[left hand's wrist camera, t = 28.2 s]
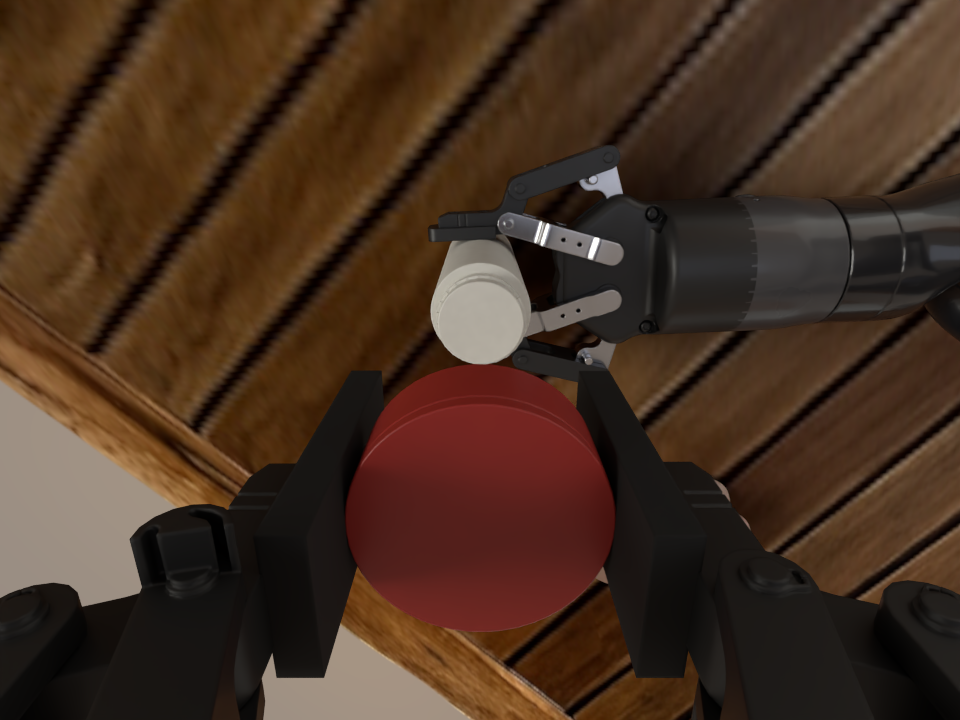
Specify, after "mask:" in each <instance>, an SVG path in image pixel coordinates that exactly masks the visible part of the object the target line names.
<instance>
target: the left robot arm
mask: <svg viewBox="0 0 960 720" xmlns="http://www.w3.org/2000/svg"><path fill="white" fill-rule="evenodd" d="M576 409H577V411H578V412H579V413H580V415H581V416H582V418H583V419H584V421H585V423H586V425H587V427H588V429H589V431H590V434H591V436H592V439H593V441H594V444H595V446H596V449H597V452H598V454H599V457H600V459H601V462H602V464H603V467H604V469H605V472H606V474H607V477H608V479H609V482H610V485H611V488H612V491H613V495H614V500H615V506H616V520H615V530H614V539H613V543H612V546H611V550H610V553H609V555H608V557H607V559H606V561H605V564H604V566H603V568H604V571H605V574H606V578H607V581H608V584H609V588H610V591H611V595H612V598H613V601H614V605H615V608H616V611H617V615H618V618H619V621H620V625H621V628H622V631H623V635H624V638H625V641H626V645H627V648H628V651H629V655H630V658H631V662H632V665H633V668H634V672H635V675H636V678H684V673H685V667H686V661H687V655H688V651H689V653H690V656H691V658H692V660H693V663H694V665H695V667H696V670H697V672H698V675H699V678H698V684H697V689H696V695H695V700H694V706H693V711H692V717H691V720H960V595H959V594H957V593H955V592H953V591H951V590H948V589H946V588H943V587H939V586H936V585H932V584H929V583H924V582H916V581H909V580H907V581H900V582H894V583H891V584H890V585H889V586H888V587H887V588H885V589H884V591H883V594H882V597H881V601H880V604H879V605H878V604H874V603H869V602H865V601H860V600H856V599H851V598H847V597H842V596H838V595H834V594H830V593H827V592H823V591H820V590H819V588H818V586H817V585H816V583H815V582H814V580H813V579H812V577H811V576H810V575H809V574H808V573H807V572H806V571H805V570H803V569H802V568H801V567H799V566H798V565H797V564H796V563H794V562H792V561H790V560H788V559H786V558H784V557H782V556H780V555H778V554H775V553H771V552H767V551H765V550H764V548H763V547H762V546H761V544H760V543H759V541H758V540H757V539H756V537H755V536H754V535H753V533H752V532H751V530H750V529H749V528H748V526H747V525H746V523H745V522H744V521H743V519H742V518H741V516H740V515H739V514H738V512H737V511H736V510H735V508H732V504H731V503H730V501H729V500H728V498H727V497H726V496H725V494H722V490H721V489H720V487H719V486H718V485H717V483H716V482H715V480H714V479H713V478H712V476H711V475H710V474H708V473H707V472H705V471H704V470H702V469H701V468H699V467H698V466H696V465H695V464H693V463H692V462H663V461H662V459H661V458H660V456H659V454H658V453H657V451H656V449H655V448H654V446H653V444H652V443H651V441H650V439H649V438H648V436H647V434H646V432H645V431H644V429H643V427H642V426H641V424H640V422H639V421H638V419H637V417H636V416H635V414H634V412H633V411H632V409H631V407H630V406H629V404H628V402H627V401H626V399H625V397H624V396H623V394H622V392H621V391H620V389H619V387H618V385H617V384H616V382H615V380H614V379H613V377H612V375H611V374H610V372H609V371H579V377H578V392H577V407H576ZM383 410H384V402H383V387H382V371H351V373H350V374H349V376H348V378H347V379H346V381H345V383H344V384H343V386H342V388H341V389H340V391H339V393H338V394H337V396H336V398H335V400H334V401H333V403H332V405H331V406H330V408H329V410H328V411H327V413H326V415H325V416H324V418H323V420H322V421H321V423H320V425H319V426H318V428H317V430H316V431H315V433H314V435H313V436H312V438H311V440H310V441H309V443H308V445H307V447H306V448H305V450H304V452H303V453H302V455H301V457H300V458H299V460H298V462H297V463H296V464H268V465H267V466H265V467H264V468H263V469H261V470H260V471H258V472H257V473H255V474H254V475H252V476H251V477H250V478H249V479H248V480H247V482H246V483H245V485H244V486H243V487H242V489H241V490H240V492H239V493H238V496H236V497H235V499H234V500H233V501H232V503H231V504H230V506H229V510H226V509H225V508H224V507H220V506H216V505H212V504H199V505H189V506H185V507H180V508H176V509H172V510H170V511H168V512H165V513H163V514H161V515H158V516H156V517H154V518H152V519H151V520H150V521H148V522H147V523H145V524H144V525H142V526H141V527H139V528H138V530H137V531H136V532H135V533H134V534H133V536H132V537H131V538H130V543H131V547H132V550H133V554H134V558H135V562H136V566H137V569H138V573H139V577H140V581H141V585H142V589H141V591H140V593H139V594H135V595H132V596H128V597H125V598H120V599H116V600H111V601H106V602H102V603H97V604H93V605H88V606H84V607H82V605H81V602H80V599H79V596H78V593H77V592H76V591H75V590H74V589H73V588H72V587H71V586H69V585H65V584H58V583H48V584H41V585H33V586H30V587H27V588H23V589H21V590H17V591H14V592H12V593H9V594H7V595H5V596H3V597H2V598H0V720H263V716H264V707H265V697H264V690H263V684H262V676H263V674H264V671H265V669H266V666H267V664H268V662H269V659H270V657H271V654H272V653H273V659H274V664H275V670H276V676H277V678H324V676H325V673H326V669H327V666H328V663H329V659H330V656H331V653H332V649H333V646H334V643H335V639H336V636H337V632H338V629H339V626H340V622H341V619H342V616H343V612H344V609H345V606H346V602H347V599H348V596H349V592H350V589H351V586H352V582H353V579H354V576H355V572H356V569H357V564H356V562H355V560H354V558H353V555H352V553H351V550H350V548H349V544H348V540H347V535H346V526H345V505H346V499H347V495H348V491H349V487H350V484H351V482H352V479H353V477H354V474H355V471H356V469H357V466H358V464H359V461H360V459H361V456H362V454H363V451H364V448H365V446H366V443H367V441H368V438H369V436H370V433H371V431H372V429H373V426H374V424H375V422H376V421H377V419H378V417H379V416H380V414H381V413H382V411H383Z"/></svg>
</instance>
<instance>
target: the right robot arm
mask: <svg viewBox="0 0 960 720" xmlns="http://www.w3.org/2000/svg"><path fill="white" fill-rule="evenodd" d="M619 160H620V153H619V151H618V149H617V148H616V147H614V146H611V145H607V146H597V147H594V148H591V149H588V150H586V151H583V152H580V153H577V154H574V155H572V156H569V157H566V158H563V159H560V160H557V161H555V162H552V163H549V164H546V165H543V166H541V167H538V168H535V169H532V170H529V171H526V172H524V173H521V174H518V175H515V176H513V177H511V178H510V179H509V181H508V183H507V188H506V191H505V194H504V197H503V200H502V202H501V204H500V205H499V206H498V207H497V208H495V209H493V210H482V211H460V212H447V213H445V214H443V215H441V216H440V217H439V218H438V224H436V225H430V226H429V227H428V236H429V241H430V242H442V241H465V240H488V239H496V235H503V234H504V235H507V236H511V237H514V238H518V239H522V240H525V241H529V242H533V243H536V244H538V245H541V246H543V247H547V248H551V249H552V257H553V261H554V265H555V269H556V270H555V274H554V278H553V282H552V292H551V293H548V294H545V295H543V296H540V297H537V298H536V299H534V300H533V301H531V302H530V305H531V317H530V323H529V326H528V329H527V331H526V333H525V335H524V337H523V339H522V342H521V343H520V344H519V346H518V347H517V349H516V350H515V351H513V352H512V353H511V356H512V360H513V364H514V365H515V366H516V367H517V368H519V369H522V370H527V371H531V372H536V373H540V374H544V375H549V376H553V377H557V378H562V379H566V380H570V381H575V382H578V377H579V371H608V367H609V364H610V361H611V358H612V355H613V352H614V349H615V346H616V344H618V343H622V342H624V341H626V340H627V339H629V338H631V337H634V336H636V335H641V334H672V333H696V332H721V331H745V330H767V329H778V328H784V327H789V326H795V325H801V324H810V323H832V322H855V321H874V320H884V319H891V318H896V317H900V316H903V315H905V314H908V313H911V312H913V311H915V310H917V309H919V308H920V307H922V306H923V305H925V307H926V309H927V310H928V312H929V314H930V315H931V316H932V317H933V319H934V320H935V321H936V322H937V323H938V324H939V325H940V326H941V327H942V328H943V329H945V330H946V331H947V332H948V333H949V334H951V335H952V336H953V337H955V338H956V339H957V340H958V341H960V174H956V175H953V176H949V177H946V178H942V179H939V180H935V181H931V182H928V183H924V184H921V185H918V186H915V187H912V188H909V189H907V190H904V191H901V192H898V193H894V194H891V195H884V196H850V197H828V198H804V197H794V196H782V195H770V196H755V195H749V194H747V195H738V196H736V197H724V198H703V199H681V200H658V201H640V200H637V199H635V198H633V197H632V196H630V195H627V194H623V192H622V188H621V183H620V179H619V175H618V171H617V167H616V166H617V165H618V163H619ZM574 182H577V183H578V185H579V186H580V187H581V188H582V189H584V190H587V191H593V190H598V191H599V192H600V193H601V194H602V196H603V198H602V199H601V200H599V201H598V202H597V203H596V204H594V205H593V206H592V207H590V208H589V209H588V210H587V211H585V212H584V213H583V214H581V215H580V216H579V217H578V218H576V219H575V220H574V221H572V222H571V223H570V224H569V225H568V224H564V223H561V222H557V221H553V220H550V219H546V218H542V217H537V216H533V215H530V214H526V213H523V212H524V209H525V206H526V203H527V200H528V198H531V197H534V196H537V195H539V194H542V193H545V192H548V191H551V190H554V189H557V188H559V187H562V186H565V185H568V184H571V183H574ZM554 302H556V303H554ZM561 314H564V315H562V316H561ZM575 322H576V323H577V324H579V325H580V326H582V327H583V328H585V329H586V330H588V331H589V332H591V333H592V334H594V335H595V336H597V337H598V338H597V340H596V341H594V342H592V343H581V344H579V345H578V346H577V347H576V348H575V350H574V349H569V348H565V347H561V346H556V345H552V344H548V343H544V342H539V341H535V340H531V339H527V336H529V335H532V334H535V333H538V332H541V331H552V330H555V329H558V328H561V327H564V326H566V325H569V324H572V323H575Z"/></svg>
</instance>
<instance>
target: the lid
mask: <svg viewBox="0 0 960 720" xmlns="http://www.w3.org/2000/svg"><path fill="white" fill-rule="evenodd" d="M615 520H616V506H615V500H614V495H613V491H612V488H611V485H610V482H609V479H608V477H607V474H606V472H605V469H604V467H603V464H602V462H601V459H600V457H599V454H598V452H597V449H596V446H595V444H594V441H593V439H592V436H591V434H590V431H589V429H588V427H587V425H586V423H585V421H584V419H583V418H582V416H581V415H580V413H579V412H578V411H577V409H576V408H575V406H574V405H573V404H572V403H571V402H570V401H569V400H568V399H567V398H566V397H565V396H564V395H563V394H562V393H561V392H559V391H558V390H557V389H555V388H554V387H553V386H552V385H550V384H548V383H546V382H545V381H543V380H541V379H540V378H538V377H536V376H533V375H531V374H528V373H526V372H524V371H520V370H517V369H513V368H509V367H504V366H497V365H485V364H473V365H463V366H456V367H452V368H448V369H443V370H441V371H438V372H435V373H432V374H429V375H427V376H425V377H423V378H421V379H419V380H418V381H416V382H414V383H412V384H411V385H410V386H408V387H407V388H405V389H404V390H402V391H401V392H400V393H399V394H398V395H397V396H396V397H395V398H394V399H392V400H391V401H390V403H389V404H388V405H387V406H386V408H385V409H384V410H383V411H382V413H381V414H380V416H379V417H378V419H377V421H376V422H375V424H374V426H373V429H372V431H371V433H370V436H369V438H368V441H367V443H366V446H365V448H364V451H363V454H362V456H361V459H360V461H359V464H358V466H357V469H356V471H355V474H354V477H353V479H352V482H351V484H350V487H349V491H348V495H347V499H346V505H345V526H346V535H347V540H348V544H349V548H350V550H351V553H352V555H353V558H354V560H355V562H356V564H357V566H358V567H359V569H360V571H361V573H362V574H363V576H364V577H365V578H366V579H367V581H368V582H369V583H370V585H371V586H372V587H373V588H374V589H375V590H376V591H377V592H378V593H379V594H380V595H381V596H382V597H383V598H385V599H386V600H387V601H388V602H390V603H391V604H392V605H394V606H395V607H397V608H398V609H400V610H402V611H403V612H405V613H407V614H408V615H411V616H413V617H415V618H417V619H419V620H421V621H424V622H427V623H430V624H433V625H436V626H440V627H444V628H448V629H453V630H461V631H470V632H489V631H501V630H507V629H512V628H518V627H521V626H524V625H528V624H531V623H534V622H537V621H539V620H541V619H544V618H546V617H548V616H550V615H552V614H554V613H556V612H557V611H559V610H561V609H563V608H564V607H565V606H567V605H568V604H570V603H571V602H572V601H574V600H575V599H576V598H577V597H578V596H579V595H581V594H582V593H583V592H584V591H585V590H586V589H587V588H588V586H589V585H590V584H591V583H592V582H593V581H594V579H595V578H596V577H597V575H598V574H599V572H600V570H601V569H602V567H603V566H604V564H605V561H606V559H607V557H608V555H609V553H610V550H611V546H612V543H613V539H614V530H615Z"/></svg>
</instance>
